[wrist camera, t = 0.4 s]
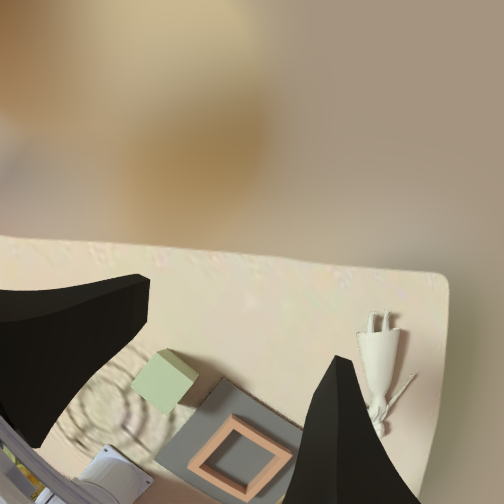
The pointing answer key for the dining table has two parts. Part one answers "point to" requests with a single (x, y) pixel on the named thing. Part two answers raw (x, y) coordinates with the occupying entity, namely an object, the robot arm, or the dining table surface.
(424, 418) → the dining table surface
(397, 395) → the woman figurine
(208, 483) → the housing
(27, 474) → the sauce bottle
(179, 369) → the sage green cube
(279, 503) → the tan eraser block
